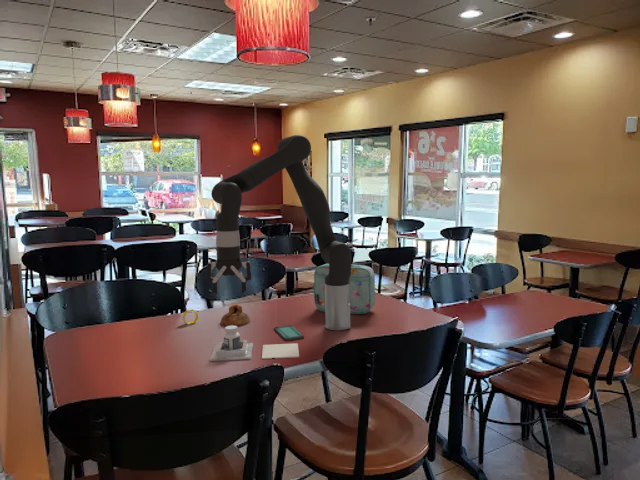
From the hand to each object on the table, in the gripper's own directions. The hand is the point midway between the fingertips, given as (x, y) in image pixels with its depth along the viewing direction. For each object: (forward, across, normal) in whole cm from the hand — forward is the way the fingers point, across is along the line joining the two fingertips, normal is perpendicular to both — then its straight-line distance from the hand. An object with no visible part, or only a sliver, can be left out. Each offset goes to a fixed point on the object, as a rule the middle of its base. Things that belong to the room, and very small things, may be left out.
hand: (229, 293), depth 159 cm
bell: (+21, +2, -34) cm, 40 cm away
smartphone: (+21, -19, -17) cm, 33 cm away
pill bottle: (+21, 0, 0) cm, 21 cm away
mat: (+20, -16, +1) cm, 26 cm away
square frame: (+20, 0, 0) cm, 21 cm away
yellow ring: (+21, +20, -35) cm, 46 cm away
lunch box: (+20, -43, -43) cm, 64 cm away
